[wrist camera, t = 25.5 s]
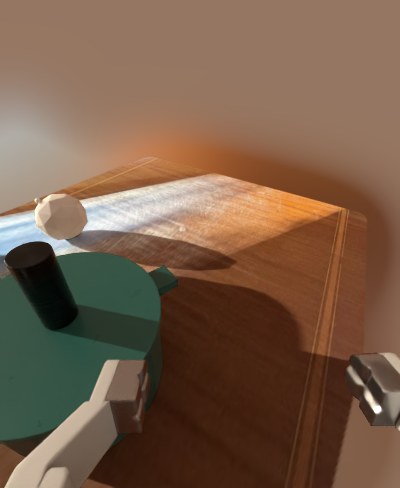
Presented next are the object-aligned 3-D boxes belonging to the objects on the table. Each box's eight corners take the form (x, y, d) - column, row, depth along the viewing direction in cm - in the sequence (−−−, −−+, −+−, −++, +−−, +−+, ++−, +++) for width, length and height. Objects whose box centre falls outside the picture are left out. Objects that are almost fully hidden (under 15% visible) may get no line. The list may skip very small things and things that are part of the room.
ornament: (76, 251, 37) (22, 220, 31) (62, 244, 42) (14, 216, 37) (103, 215, 39) (57, 180, 33) (87, 213, 44) (45, 181, 39)
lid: (199, 339, 18) (205, 271, 13) (-65, 537, 10) (-252, 528, 6) (115, 242, 26) (102, 181, 22) (-63, 309, 19) (-138, 236, 14)
